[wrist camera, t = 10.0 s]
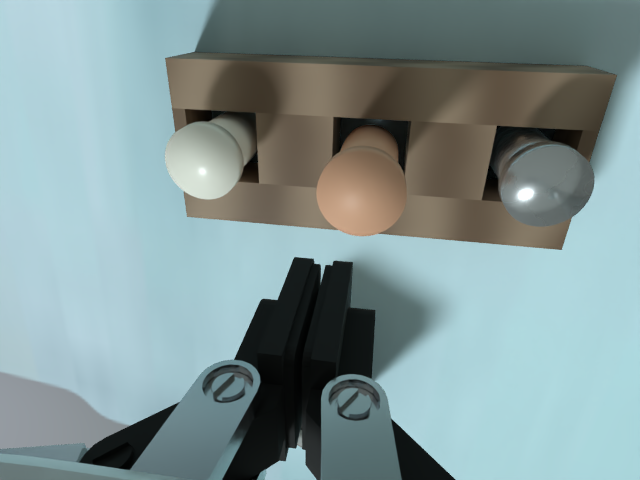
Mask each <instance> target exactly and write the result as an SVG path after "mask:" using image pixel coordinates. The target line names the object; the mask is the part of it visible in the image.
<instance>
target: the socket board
mask: <svg viewBox="0 0 640 480" xmlns="http://www.w3.org/2000/svg"><path fill="white" fill-rule="evenodd" d="M165 60H166V67H167V74H168V82H169V89H170V96H171V103H172V111H173V118H174V125H175V132H177V131H178V130H180V129H181V128H183V127H185V126H187V125H189V124H191V123H194V122H199V121H205V122H209V121H211V120H212V112H211V110H215V111H234V112H252V113H256V130H257V150H258V163H254V162H248V163H247V164H246V165H245V166H244V168H243V173H242V176H241V178H240V180H239V181H238V183H237V184H236V185H235V186H234V187H233V188H232V189H231V190H230V191H229V192H228V193H227V194H225V195H224V196H222V197H220V198H216V199H210V200H209V199H200V198H196V197H194V196H191V195H189V194H188V193H186V192H185V191H184V198H185V205H186V212H187V217H196V218H208V219H219V220H230V221H242V222H253V223H264V224H275V225H287V226H298V227H309V228H321V229H332V230H338V229H336V228H335V227H334V226H332V225H331V224H330V223H329V222H328V221H327V220H326V219H325V217H324V216H323V214H322V213H321V211H320V209H319V206H318V202H317V195H316V191H317V184H318V181H319V178H320V176H321V173H322V171H323V169H324V168H325V166H326V164H327V163H328V162H329V160H330V159H331V158H332V157H333V156H335V155H336V154H337V153H339V152H340V130H341V117H345V118H364V119H383V120H401V121H408V129H407V138H406V147H405V156H404V165H403V172H404V175H405V179H406V186H407V200H406V205H405V208H404V211H403V212H402V214H401V216H400V218H399V219H398V220H397V221H396V222H395V223H394V224H393V225H392V226H391V227H390V228H388V229H387V230H385V231H383V232H381V233H378V234H389V235H400V236H411V237H422V238H434V239H445V240H456V241H468V242H479V243H490V244H502V245H513V246H524V247H536V248H547V249H558V250H562V247H563V244H564V240H565V237H566V234H567V231H568V228H569V225H570V222H571V218H572V217H571V218H570V219H568V220H566V221H564V222H562V223H559V224H556V225H552V226H545V227H536V226H530V225H526V224H523V223H521V222H519V221H517V220H516V219H515V218H513V217H512V216H511V215H510V214H509V213H508V211H507V210H506V208H505V206H504V204H503V202H502V200H501V198H500V195H499V191H498V181H499V179H486V176H487V171H488V167H489V162H490V157H491V152H492V147H493V142H494V138H495V133H496V128H497V126H513V127H532V128H550V129H555V132H554V136H553V139H552V141H554V142H560V143H564V144H566V145H569V146H570V147H572V148H574V149H575V150H576V151H577V152H579V153H580V154H581V155H582V156H583V157H585V158H586V160H587V161H588V162H590V159H591V156H592V152H593V149H594V146H595V143H596V140H597V137H598V133H599V130H600V127H601V124H602V121H603V118H604V115H605V111H606V108H607V105H608V102H609V99H610V96H611V93H612V89H613V86H614V83H615V80H616V77H617V75H615V74H612V73H609V72H605V71H602V70H599V69H596V68H592V67H589V66H574V65H546V64H518V63H489V62H461V61H433V60H404V59H376V58H348V57H319V56H291V55H262V54H234V53H206V52H192V53H187V54H182V55H178V56H173V57H168V58H165Z"/></svg>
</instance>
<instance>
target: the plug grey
mask: <svg viewBox="0 0 640 480" xmlns="http://www.w3.org/2000/svg"><path fill="white" fill-rule="evenodd" d="M489 163H490V165H491V167H492V169H493V170H494V172H495V174H496V176H497V177H498V179H499V181H498V191H499V195H500V198H501V200H502V202H503V204H504V206H505V208H506V210H507V211H508V213H509V214H510V215H511V216H512V217H513V218H515V219H516V220H517V221H519V222H521V223H523V224H526V225H530V226H536V227H545V226H552V225H556V224H559V223H562V222H564V221H566V220H568V219H570V218H571V217H573V216H574V215H576V214H577V213H578V212H579V211H580V210H581V209H582V208H583V207H584V206H585V204H586V203H587V202H588V200H589V198H590V196H591V194H592V191H593V187H594V174H593V170H592V167H591V165H590V164H589V162H588V161H587V160H586V158H585V157H583V156H582V155H581V154H580V153H579V152H577V151H576V150H575V149H574V148H572V147H570V146H569V145H566V144H564V143H560V142H554V141H551V140H550V139H548V138H547V137H546V136H545V135H544V134H543V133H542V132H540V131H539V130H538V129H537V128H532V127H513V126H503V127H501V128H500V129H498V130H497V131H496V133H495V138H494V142H493V147H492V152H491V157H490V162H489Z"/></svg>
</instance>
